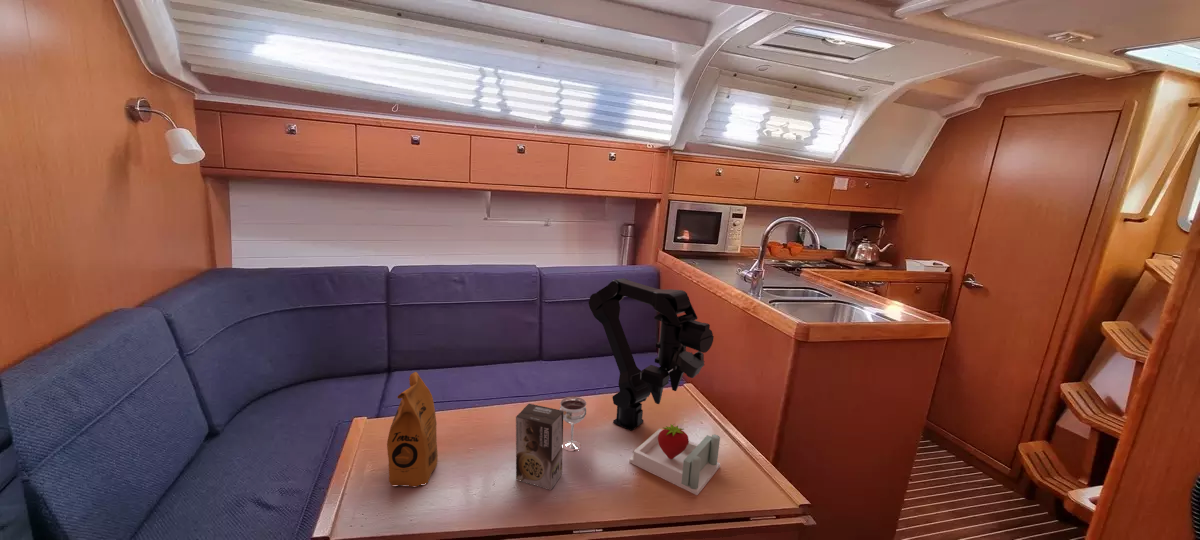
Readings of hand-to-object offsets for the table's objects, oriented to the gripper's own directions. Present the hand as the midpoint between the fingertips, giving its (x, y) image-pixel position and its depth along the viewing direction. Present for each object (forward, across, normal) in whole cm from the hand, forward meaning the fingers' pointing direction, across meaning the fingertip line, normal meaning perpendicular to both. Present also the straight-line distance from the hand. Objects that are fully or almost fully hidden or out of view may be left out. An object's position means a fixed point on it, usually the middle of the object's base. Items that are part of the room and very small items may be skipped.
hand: (666, 396), depth 116 cm
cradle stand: (+13, -6, -7) cm, 16 cm away
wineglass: (+13, -17, +17) cm, 27 cm away
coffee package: (+13, -48, +38) cm, 63 cm away
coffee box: (+13, -31, +15) cm, 37 cm away
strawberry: (+12, -6, -6) cm, 15 cm away
